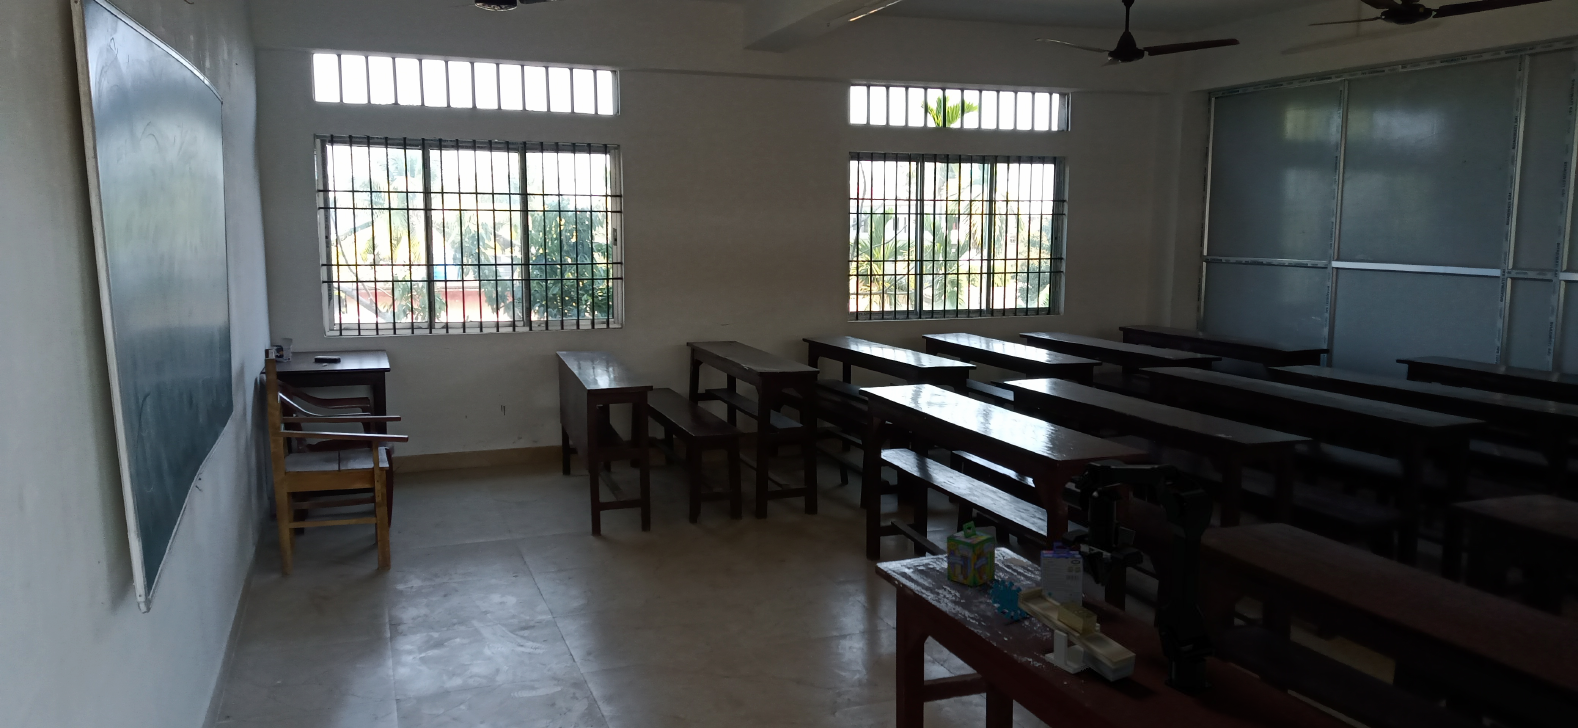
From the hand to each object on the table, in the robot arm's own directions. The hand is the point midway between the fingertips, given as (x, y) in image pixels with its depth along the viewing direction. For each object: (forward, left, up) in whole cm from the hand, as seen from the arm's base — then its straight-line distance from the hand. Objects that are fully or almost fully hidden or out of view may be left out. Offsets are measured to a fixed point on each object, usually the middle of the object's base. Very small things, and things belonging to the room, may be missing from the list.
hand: (1100, 584), depth 227 cm
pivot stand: (-6, +13, -12) cm, 19 cm away
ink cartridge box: (+19, -7, -12) cm, 24 cm away
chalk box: (+43, +1, -12) cm, 45 cm away
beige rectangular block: (-6, +13, -5) cm, 15 cm away
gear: (+20, +8, -12) cm, 25 cm away
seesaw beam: (-5, +13, -9) cm, 16 cm away
